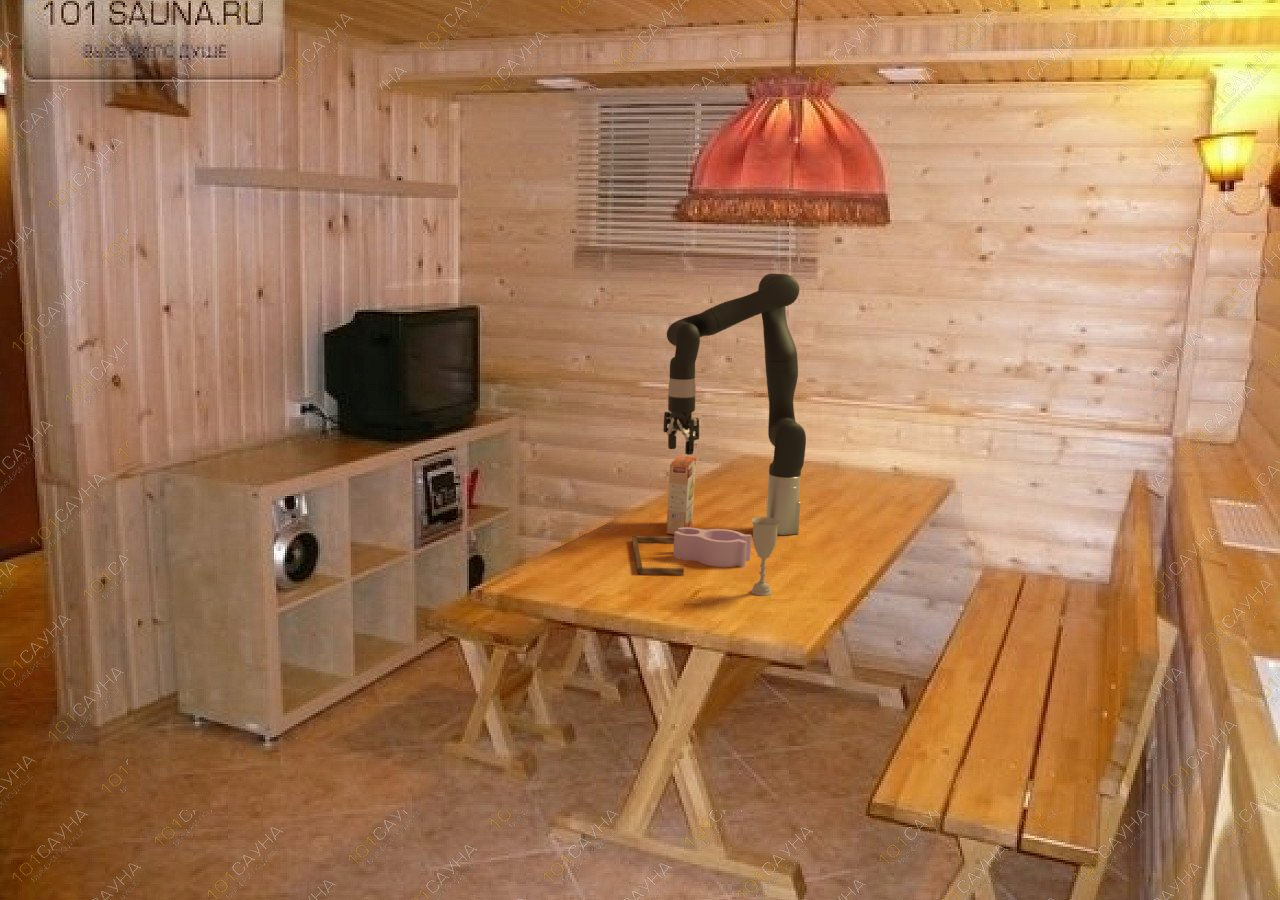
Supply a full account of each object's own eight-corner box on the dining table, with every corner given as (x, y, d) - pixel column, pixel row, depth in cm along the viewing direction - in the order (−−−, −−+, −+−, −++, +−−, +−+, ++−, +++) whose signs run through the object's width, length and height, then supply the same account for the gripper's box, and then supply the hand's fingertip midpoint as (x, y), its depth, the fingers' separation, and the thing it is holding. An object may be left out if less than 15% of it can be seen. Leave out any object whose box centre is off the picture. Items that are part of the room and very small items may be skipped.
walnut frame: (673, 542, 304) (673, 536, 304) (683, 575, 275) (683, 569, 275) (632, 541, 304) (632, 536, 303) (637, 574, 275) (637, 568, 274)
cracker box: (686, 536, 310) (689, 465, 306) (665, 534, 311) (668, 463, 307) (693, 524, 324) (696, 455, 319) (673, 522, 325) (676, 454, 321)
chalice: (745, 587, 268) (749, 516, 264) (772, 587, 268) (776, 517, 265) (750, 597, 261) (754, 525, 257) (778, 597, 261) (782, 525, 258)
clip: (668, 560, 288) (670, 535, 286) (681, 548, 299) (682, 524, 298) (742, 570, 282) (744, 544, 280) (752, 557, 293) (753, 532, 292)
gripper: (707, 396, 295) (706, 455, 299) (678, 389, 307) (677, 445, 311) (685, 398, 292) (683, 457, 295) (656, 391, 303) (655, 448, 307)
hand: (680, 451), depth 303 cm, fingers open, 8 cm apart
